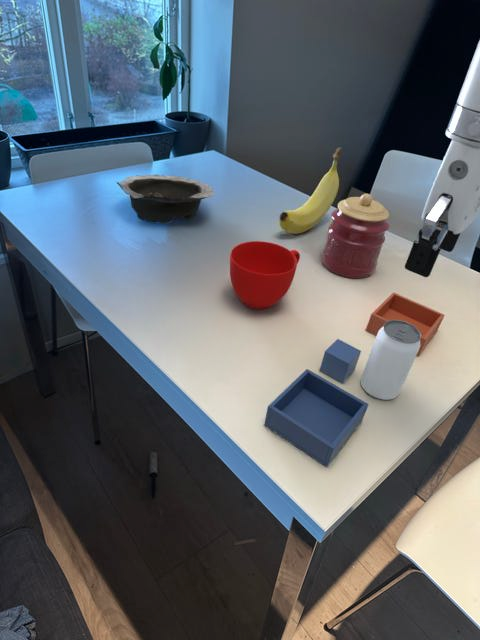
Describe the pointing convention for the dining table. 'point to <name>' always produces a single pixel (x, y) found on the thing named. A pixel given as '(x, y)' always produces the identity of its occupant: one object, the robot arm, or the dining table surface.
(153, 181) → the stone bowl
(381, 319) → the terracotta bin
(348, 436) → the slate bin
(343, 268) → the kitchen canister
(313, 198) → the banana
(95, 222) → the dining table surface
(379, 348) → the can
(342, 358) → the block
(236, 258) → the ceramic cup
